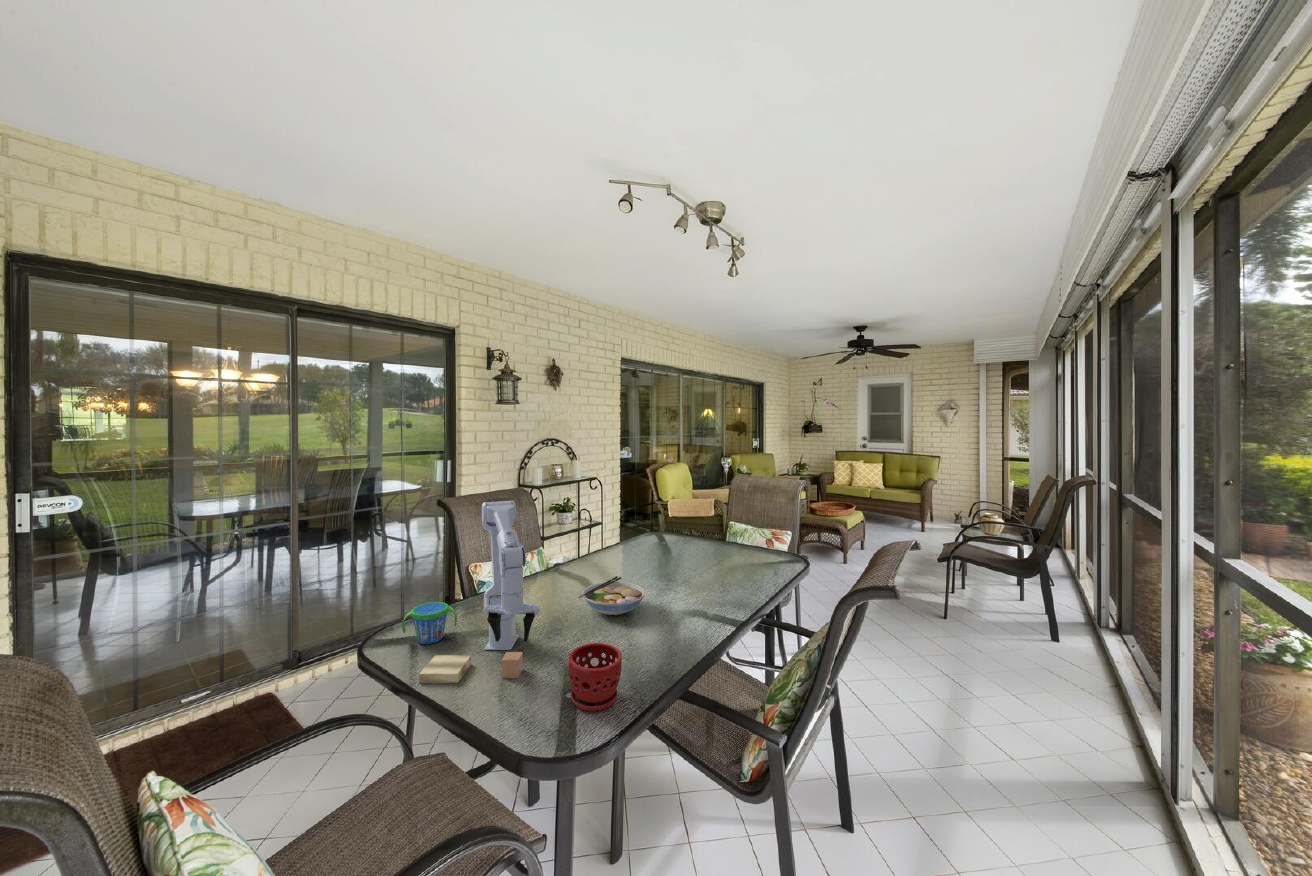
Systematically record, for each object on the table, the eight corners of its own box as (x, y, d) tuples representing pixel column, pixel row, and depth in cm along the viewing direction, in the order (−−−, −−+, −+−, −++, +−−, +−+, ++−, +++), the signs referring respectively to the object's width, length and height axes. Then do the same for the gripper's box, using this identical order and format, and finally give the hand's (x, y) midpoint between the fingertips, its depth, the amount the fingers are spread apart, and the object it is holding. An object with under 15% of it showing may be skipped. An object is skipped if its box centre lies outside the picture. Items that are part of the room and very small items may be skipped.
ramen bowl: (619, 631, 161) (619, 607, 161) (566, 616, 173) (566, 593, 173) (658, 607, 183) (658, 585, 182) (609, 594, 195) (609, 574, 194)
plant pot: (557, 705, 120) (557, 657, 120) (592, 681, 131) (592, 637, 131) (597, 724, 113) (598, 673, 112) (631, 697, 124) (632, 651, 123)
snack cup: (398, 650, 147) (398, 616, 146) (407, 634, 157) (407, 603, 157) (454, 644, 151) (454, 612, 150) (459, 630, 161) (459, 599, 160)
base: (435, 663, 139) (435, 655, 139) (471, 663, 139) (471, 655, 139) (419, 683, 129) (419, 673, 129) (457, 683, 129) (457, 673, 129)
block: (506, 669, 137) (506, 651, 137) (522, 669, 137) (522, 652, 137) (501, 678, 132) (501, 659, 132) (518, 678, 132) (518, 660, 132)
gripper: (480, 596, 129) (480, 646, 130) (535, 596, 130) (535, 646, 130) (489, 586, 136) (489, 634, 137) (541, 587, 137) (541, 635, 137)
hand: (512, 639), depth 134 cm, fingers open, 7 cm apart
